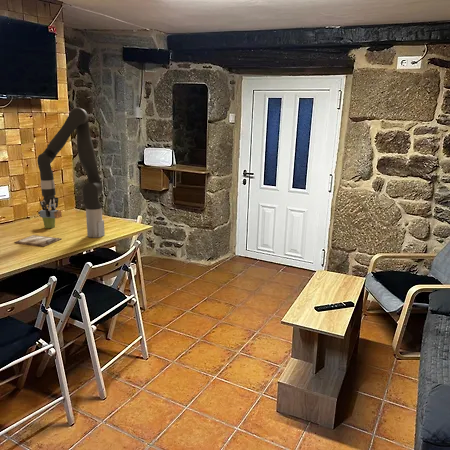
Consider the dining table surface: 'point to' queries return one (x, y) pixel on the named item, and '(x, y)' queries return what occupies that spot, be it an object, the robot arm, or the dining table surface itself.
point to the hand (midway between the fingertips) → (51, 215)
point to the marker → (51, 214)
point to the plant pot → (49, 222)
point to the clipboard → (38, 240)
